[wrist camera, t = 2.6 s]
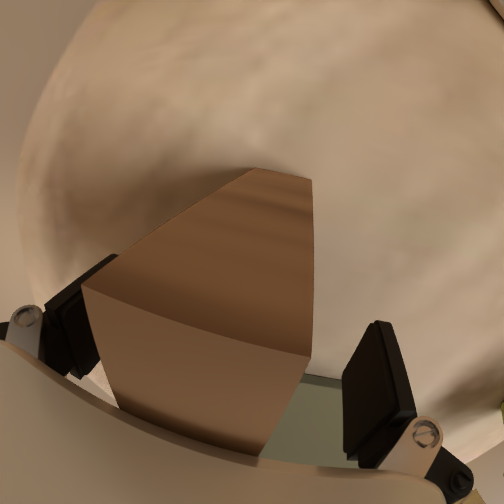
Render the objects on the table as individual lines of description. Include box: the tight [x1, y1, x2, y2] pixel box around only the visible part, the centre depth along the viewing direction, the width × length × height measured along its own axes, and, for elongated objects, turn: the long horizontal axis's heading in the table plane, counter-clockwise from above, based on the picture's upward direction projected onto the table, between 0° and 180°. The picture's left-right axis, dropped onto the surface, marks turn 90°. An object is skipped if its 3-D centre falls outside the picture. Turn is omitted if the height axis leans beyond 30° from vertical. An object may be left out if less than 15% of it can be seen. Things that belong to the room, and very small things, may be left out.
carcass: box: [258, 374, 359, 468], centre depth 13 cm, size 12×9×11 cm
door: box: [81, 168, 314, 457], centre depth 9 cm, size 9×3×10 cm, turn 171°
